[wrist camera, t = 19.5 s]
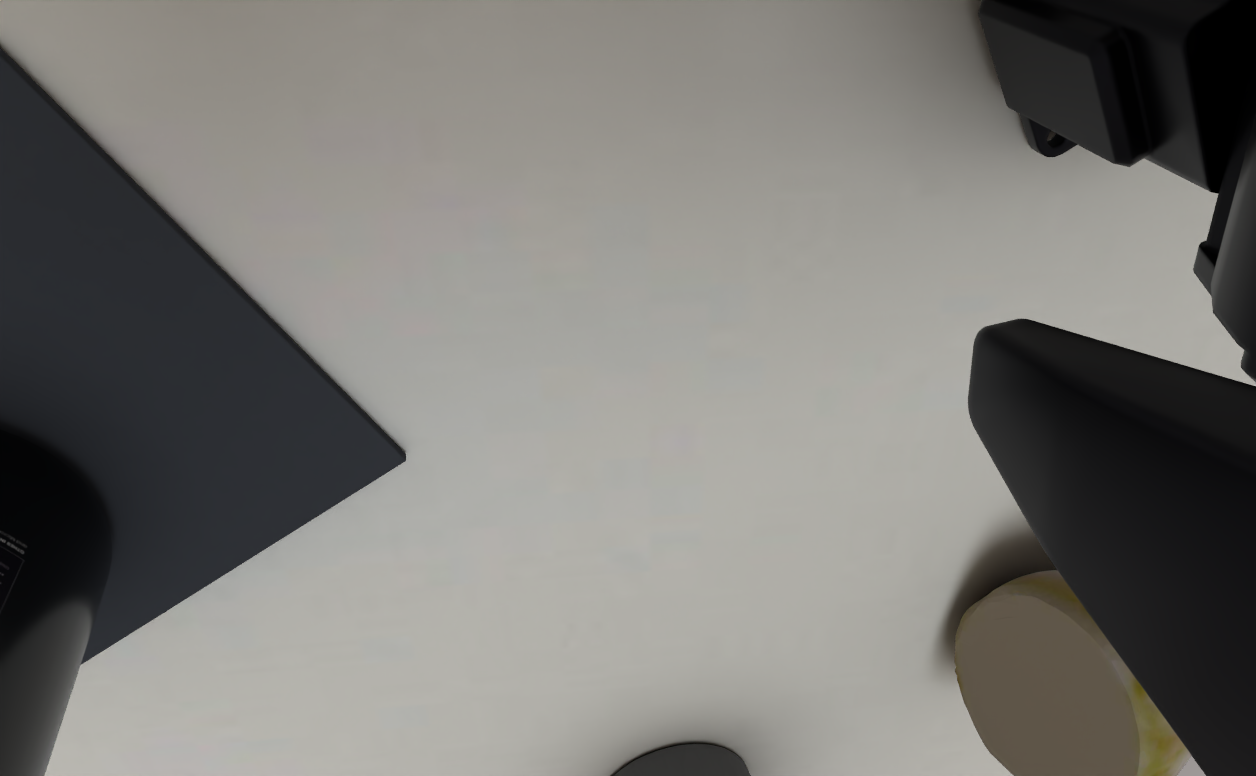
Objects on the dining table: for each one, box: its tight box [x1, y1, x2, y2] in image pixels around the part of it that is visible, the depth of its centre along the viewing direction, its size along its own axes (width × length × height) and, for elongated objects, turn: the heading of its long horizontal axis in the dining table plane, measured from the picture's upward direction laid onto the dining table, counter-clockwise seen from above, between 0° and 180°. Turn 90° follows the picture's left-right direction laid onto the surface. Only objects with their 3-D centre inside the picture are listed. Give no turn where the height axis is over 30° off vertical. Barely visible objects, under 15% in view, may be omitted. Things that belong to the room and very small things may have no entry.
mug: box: [955, 570, 1192, 776], centre depth 30 cm, size 8×10×10 cm
